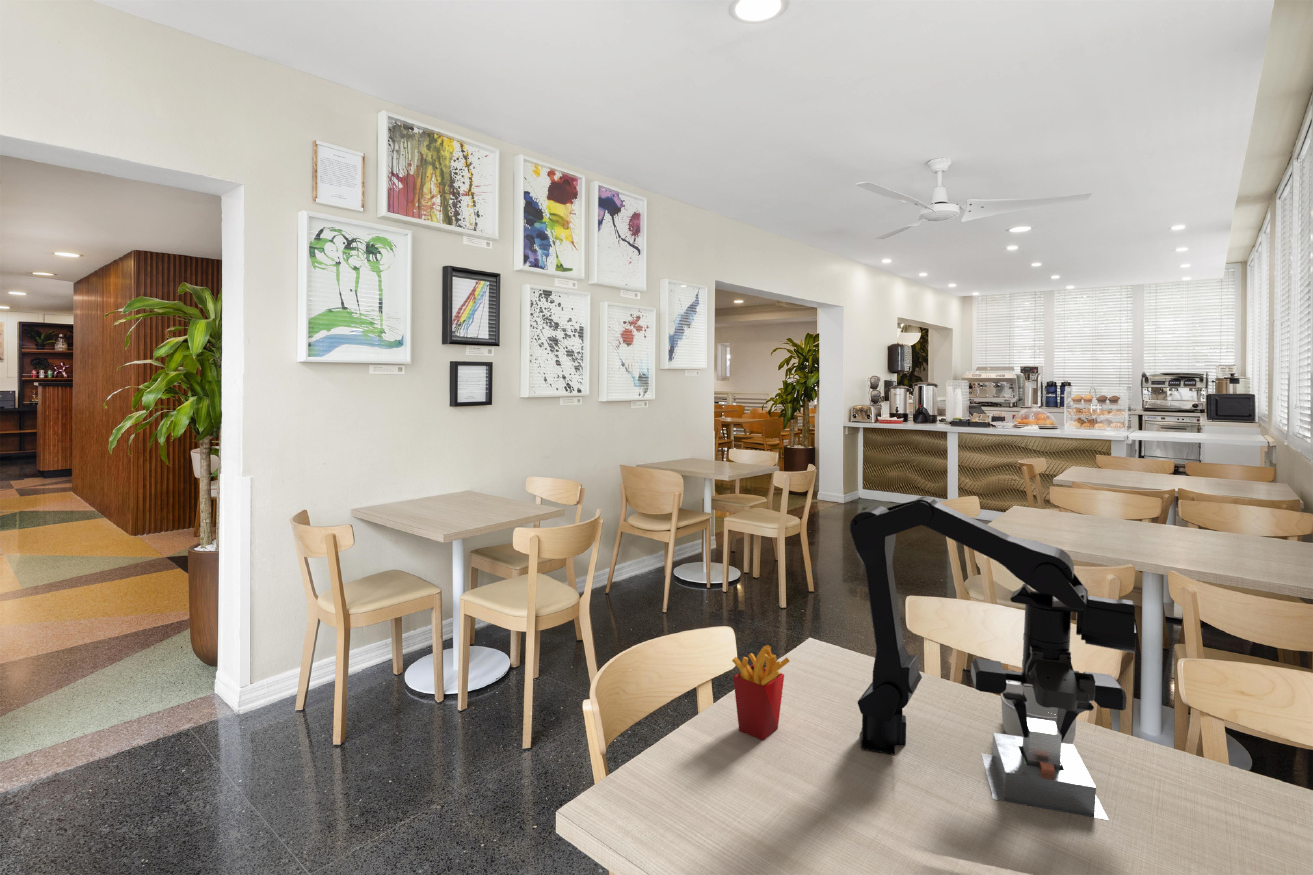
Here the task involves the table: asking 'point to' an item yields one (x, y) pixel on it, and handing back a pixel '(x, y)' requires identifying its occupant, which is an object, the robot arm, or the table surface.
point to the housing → (1041, 779)
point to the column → (1042, 743)
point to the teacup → (1031, 715)
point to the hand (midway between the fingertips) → (1041, 738)
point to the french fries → (759, 693)
